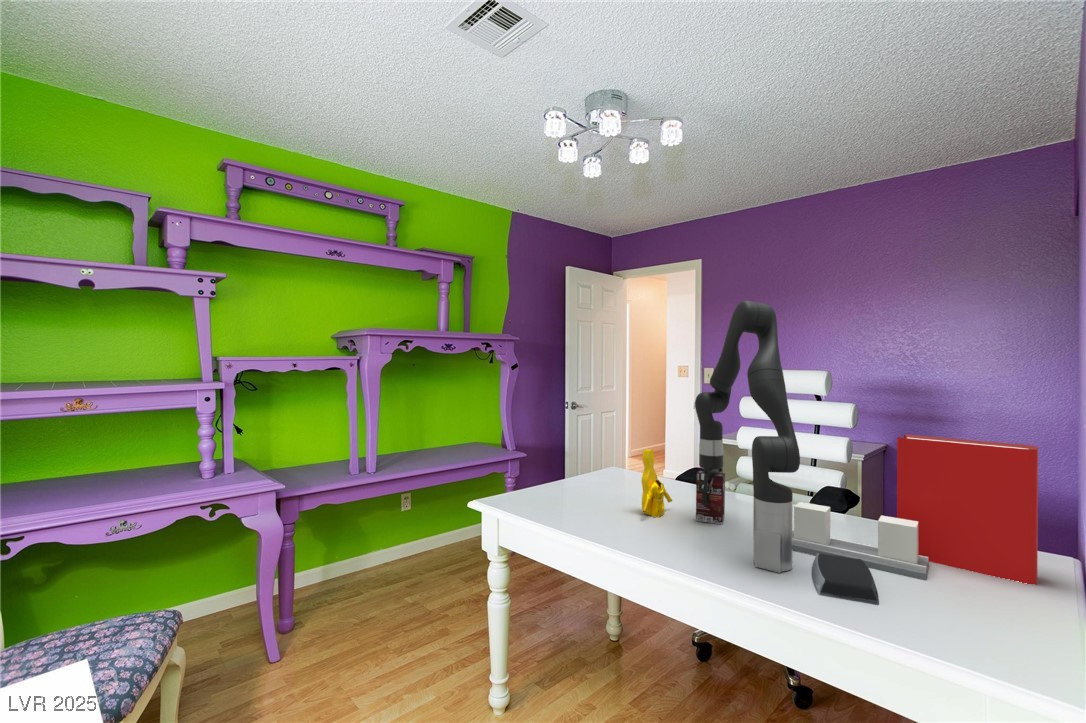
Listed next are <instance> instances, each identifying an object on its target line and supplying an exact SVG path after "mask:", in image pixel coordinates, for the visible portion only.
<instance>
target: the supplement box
mask: <svg viewBox="0 0 1086 723" xmlns="http://www.w3.org/2000/svg"><path fill="white" fill-rule="evenodd" d="M699 473H704V470H698V471H697V472H696V474H695V475H696V481H695V483H696V486H695V488H696V489H695V492H696V493H695V520H696V522H702V523H707V522H708V523H707V524H709V523H710V524H714V523H715V525H720V524H722V525H723V524H724V522H725V516H726V515H725V512H726V511H725V509H726V507H725V502H726V501H725V500H726V499H725V498H726V497H725V496H726V473H725V472H723V473H714V474H716V475H712V478H714V479H713V487H712V488H711V489H710V493H709V494H710V504H709V505H703V504H702V493H701V492H699ZM712 478H711V479H712ZM710 483H711V482H708V484H710Z"/></svg>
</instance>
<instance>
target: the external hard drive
mask: <svg viewBox="0 0 1086 723" xmlns="http://www.w3.org/2000/svg"><path fill="white" fill-rule="evenodd" d="M811 579H812V583H813V585H814V586H813V587H814V589H815V591H816V593H817V595H819V596H825V597H830V598H835V599H842V600H846V601H847V600H848V601H852V602H859V603H864V604H865V603H866V604H870V605H875V606H876V605H877V606H879V604H880V599H879V595H878V594H879V593H878V589H877V586H876V582H875V578H874V577H873V574H872V571H871V570H870V568H869V567H867V565H866V564H865V563H864V562H863V561H862V560H861V559H856V558H848V557H841V556H834V555H827V554H821V553H818V554H817V555H815V557H814V559H813V561H812V565H811Z"/></svg>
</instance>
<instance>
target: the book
mask: <svg viewBox="0 0 1086 723" xmlns="http://www.w3.org/2000/svg"><path fill="white" fill-rule="evenodd" d="M896 441H897V443H896V445H897V446H896V448H897V449H896V455H897V456H896V457H897V458H896V460H897V461H896V464H897V466H896V467H897V468H896V481H897V483H896V488H897V489H896V518H900V519H906V520H912V521H918V555H920V556H925V557H928V559H929V563H934V564H937V565H943V566H947V567H951V568H955V569H959V568H960V570H963V569H965V570H964V571H968V570H969V571H968V572H972V571H973V573H976V572H977V574H980V573H981V575H986V576H989V575H990V576H989V577H993V576H995V578H998V577H1000V578H999V579H1002V578H1005V579H1004V580H1006V579H1010V580H1009V581H1011V580H1014V581H1013V582H1015V581H1019V582H1022V583H1021V584H1024V583H1027V584H1026V585H1028V584H1036V583H1037V582H1038V560H1039V559H1038V548H1039V547H1038V544H1039V543H1038V542H1039V540H1038V539H1039V538H1038V536H1039V535H1038V534H1039V533H1038V532H1039V531H1038V528H1039V526H1038V525H1039V523H1038V522H1039V521H1038V520H1039V519H1038V518H1039V514H1038V512H1039V511H1038V510H1039V499H1038V498H1039V484H1038V483H1039V446H1035V445H1031V444H1030V445H1029V444H1020V443H1019V444H1018V443H1007V442H997V441H984V440H975V439H974V440H973V439H963V438H962V439H961V438H951V437H950V438H949V437H940V436H939V437H938V436H931V435H929V436H928V435H919V434H918V435H917V434H906V433H904V434H903V437H901V436H900V437H899V436H897V439H896ZM1019 582H1018V583H1019ZM1036 585H1037V584H1036Z"/></svg>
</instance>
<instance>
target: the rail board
mask: <svg viewBox="0 0 1086 723" xmlns="http://www.w3.org/2000/svg"><path fill="white" fill-rule="evenodd" d="M877 525H878V526H877V546H875V545H869V544H866V543H865V544H864V543H859V542H855V541H850V540H845V539H840V538H837V537H835V538H834V537H831V506H827V505H819V504H815V503H810V502H807V503H806V502H802V501H799V502H797V503H796V504H795V505H794V506H793V526H794V527H793V529H792V551H793V550H795V551H794V552H798V551H799V552H798V553H802V552H804V553H803V554H807V553H808V554H807V555H811V554H813V555H812V556H816V555H817V554H818V553H821V554H827V555H834V556H841V557H848V558H856V559H861V560H862V561H863V562H864V563H865V564H866V565H867V567H868V568H869V569H874V570H879V571H883V572H888V573H893V574H897V575H902V576H904V577H910V578H915V579H920V580H924V581H926V580H927V577H928V576H927V575H928V569H929V563H930V562H929V559H928V557H925V556H920V555H918V521H912V520H906V519H900V518H897V517H893V516H886V515H880V517H879V518H878V520H877Z"/></svg>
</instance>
